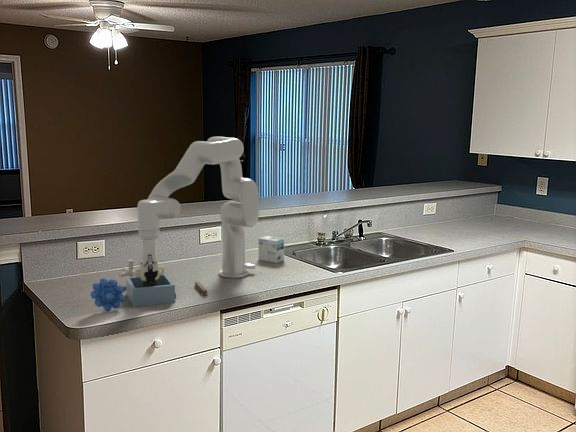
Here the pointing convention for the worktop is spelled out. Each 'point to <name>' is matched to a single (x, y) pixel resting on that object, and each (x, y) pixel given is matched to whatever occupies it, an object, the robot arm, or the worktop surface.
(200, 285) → the seat rails
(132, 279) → the bin
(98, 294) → the blue flower
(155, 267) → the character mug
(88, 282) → the worktop surface
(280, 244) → the light bulb box
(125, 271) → the pipe connector
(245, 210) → the robot arm
